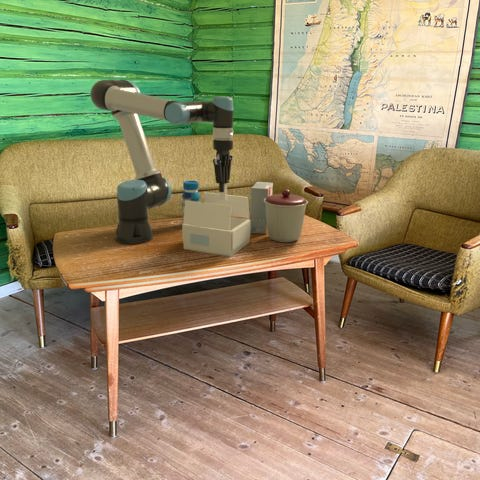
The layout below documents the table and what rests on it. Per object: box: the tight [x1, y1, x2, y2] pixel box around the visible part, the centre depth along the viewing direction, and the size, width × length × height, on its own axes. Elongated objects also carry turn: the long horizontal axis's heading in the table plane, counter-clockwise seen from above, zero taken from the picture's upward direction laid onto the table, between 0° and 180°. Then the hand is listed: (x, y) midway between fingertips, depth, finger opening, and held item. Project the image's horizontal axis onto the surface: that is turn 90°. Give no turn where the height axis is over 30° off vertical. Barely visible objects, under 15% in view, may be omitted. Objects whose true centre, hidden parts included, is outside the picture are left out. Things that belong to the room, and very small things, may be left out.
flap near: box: [182, 200, 232, 230], centre depth 180 cm, size 19×9×1 cm
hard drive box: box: [249, 181, 274, 235], centre depth 213 cm, size 16×8×20 cm, turn 168°
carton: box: [181, 216, 251, 258], centre depth 191 cm, size 22×18×10 cm
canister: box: [264, 188, 309, 243], centre depth 200 cm, size 18×18×21 cm
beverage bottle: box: [181, 180, 201, 220], centre depth 216 cm, size 8×8×20 cm
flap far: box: [203, 191, 250, 219], centre depth 195 cm, size 19×9×1 cm
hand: (222, 199), depth 191 cm, fingers closed
